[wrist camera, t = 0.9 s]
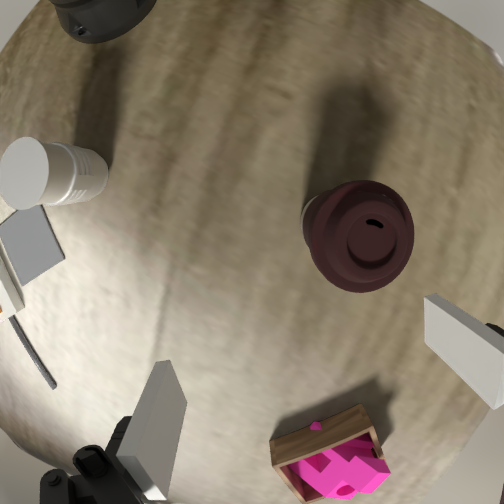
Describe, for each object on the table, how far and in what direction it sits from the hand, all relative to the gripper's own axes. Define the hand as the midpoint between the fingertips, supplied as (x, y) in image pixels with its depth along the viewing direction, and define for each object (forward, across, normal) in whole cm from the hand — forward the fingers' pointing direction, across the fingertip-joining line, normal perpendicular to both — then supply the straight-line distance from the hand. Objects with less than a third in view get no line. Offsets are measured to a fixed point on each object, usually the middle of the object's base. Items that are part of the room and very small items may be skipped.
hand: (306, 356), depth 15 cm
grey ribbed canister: (+26, -20, +15) cm, 37 cm away
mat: (+26, -33, +9) cm, 43 cm away
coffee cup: (+26, +8, +2) cm, 28 cm away
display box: (+26, +3, -36) cm, 45 cm away
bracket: (+26, +3, -36) cm, 45 cm away
